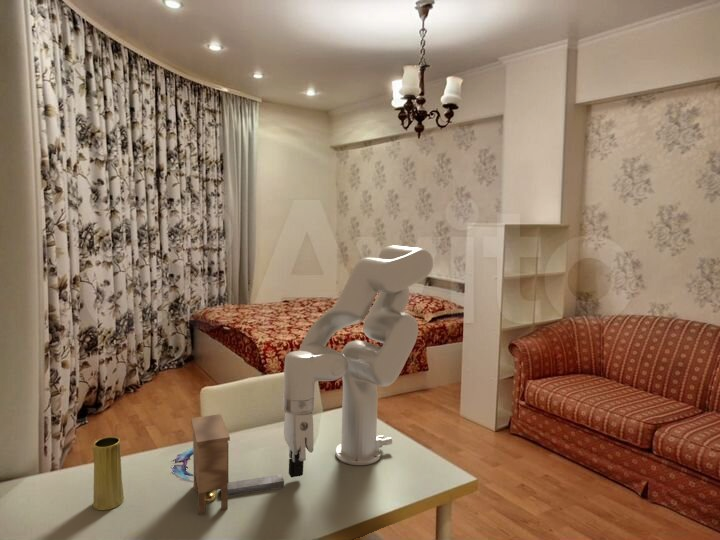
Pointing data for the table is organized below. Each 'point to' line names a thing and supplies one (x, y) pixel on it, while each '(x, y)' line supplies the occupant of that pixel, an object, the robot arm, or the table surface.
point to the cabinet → (210, 458)
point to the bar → (255, 485)
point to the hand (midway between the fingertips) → (295, 474)
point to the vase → (107, 474)
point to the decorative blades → (183, 466)
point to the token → (210, 496)
